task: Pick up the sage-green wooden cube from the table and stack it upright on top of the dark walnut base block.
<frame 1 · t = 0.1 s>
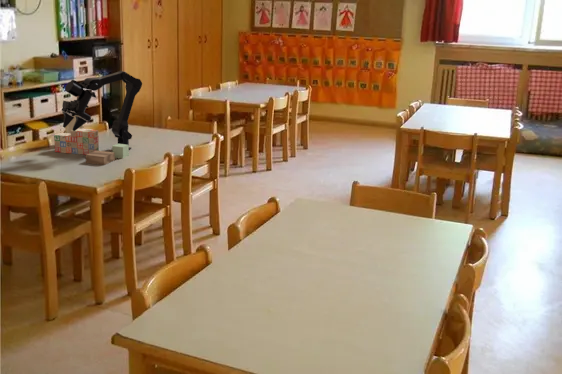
hand: (68, 129, 299), 15 cm above the table, tool tilted 35°, fingers open, 9 cm apart
stack of blocks: (77, 152, 315), on the table
green cube: (120, 156, 311), on the table
walnut base: (100, 161, 300), on the table
beige wooden block: (74, 144, 331), on the table
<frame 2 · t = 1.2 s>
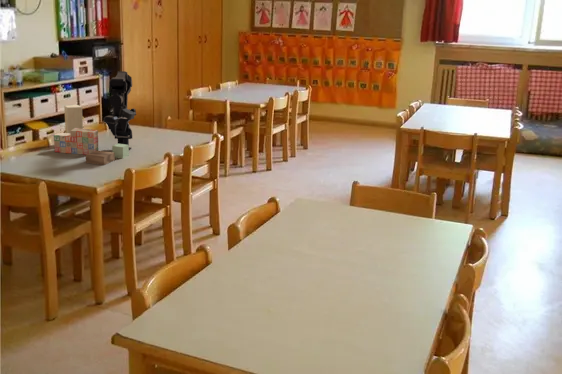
hand: (119, 133, 308), 12 cm above the table, tool pointing down, fingers open, 9 cm apart
nothing on the table moved.
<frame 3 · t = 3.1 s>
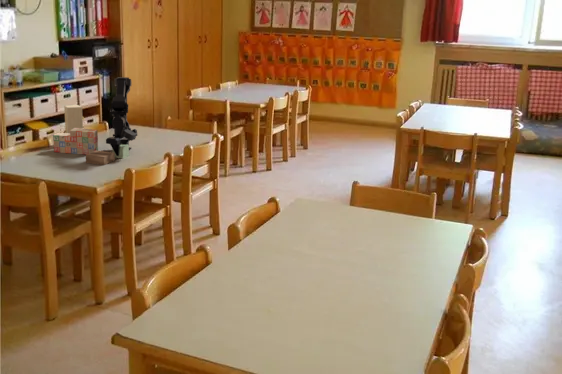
hand: (120, 154, 311), 1 cm above the table, tool pointing down, fingers closed on green cube, 6 cm apart
green cube: (120, 156, 311), on the table, touching gripper
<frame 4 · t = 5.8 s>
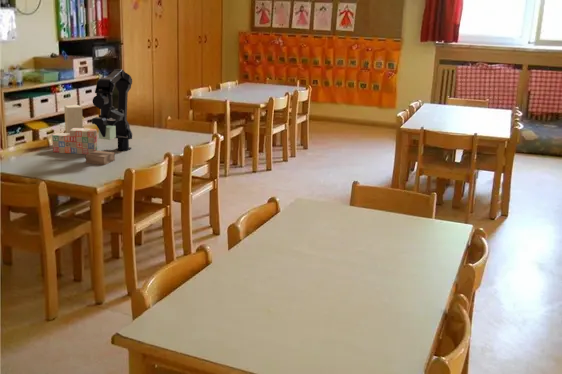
hand: (107, 135, 300), 12 cm above the table, tool pointing down, fingers closed on green cube, 6 cm apart
green cube: (107, 138, 301), point 11 cm above the table, touching gripper
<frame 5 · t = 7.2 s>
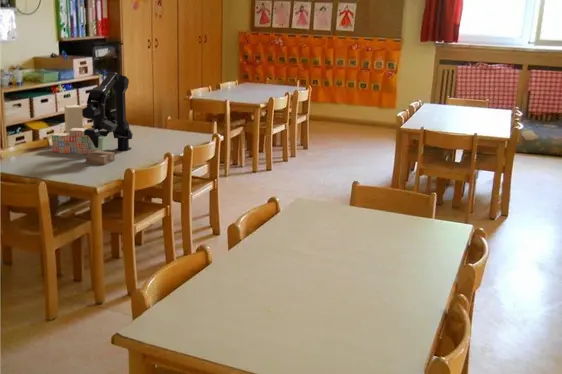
hand: (100, 146, 298), 8 cm above the table, tool pointing down, fingers closed on green cube, 6 cm apart
green cube: (100, 148, 298), point 6 cm above the table, touching gripper
when the fingers open (6 cm above the table, at t = 8.4 s): green cube drops 1 cm, resting on walnut base.
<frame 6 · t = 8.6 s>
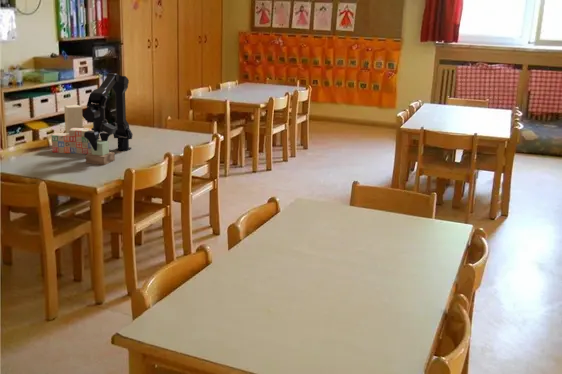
hand: (100, 148, 298), 6 cm above the table, tool pointing down, fingers open, 8 cm apart
green cube: (100, 153, 299), point 4 cm above the table, touching walnut base
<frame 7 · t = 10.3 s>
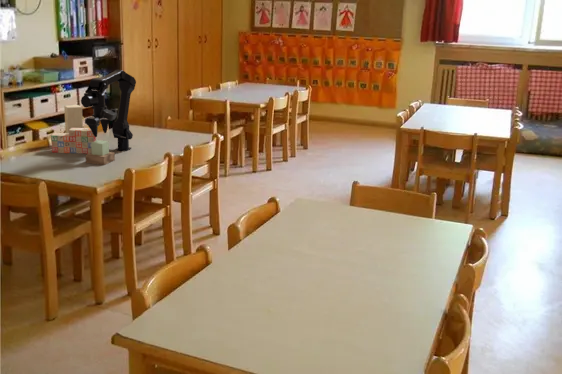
hand: (100, 134, 305), 12 cm above the table, tool pointing down, fingers open, 9 cm apart
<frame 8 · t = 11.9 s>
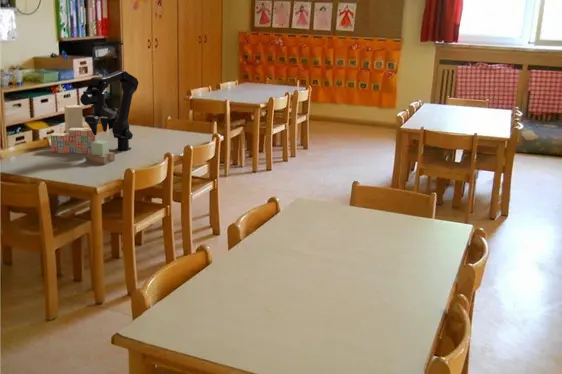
hand: (100, 133, 306), 12 cm above the table, tool pointing down, fingers open, 9 cm apart
at the end: green cube inside the target area on the walnut base (0.1 cm from its centre), point 4.0 cm above the walnut base's base; green cube tilted 0°; the gripper is holding nothing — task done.
